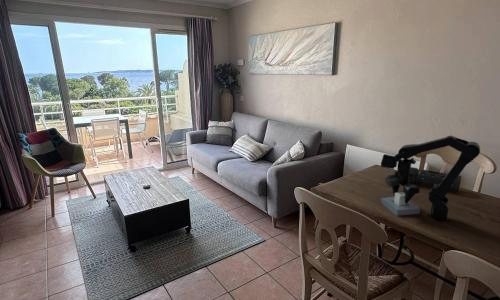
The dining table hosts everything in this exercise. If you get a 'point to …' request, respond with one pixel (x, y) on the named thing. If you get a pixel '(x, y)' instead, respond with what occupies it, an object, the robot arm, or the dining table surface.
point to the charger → (399, 199)
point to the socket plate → (400, 207)
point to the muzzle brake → (432, 178)
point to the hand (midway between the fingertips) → (400, 199)
